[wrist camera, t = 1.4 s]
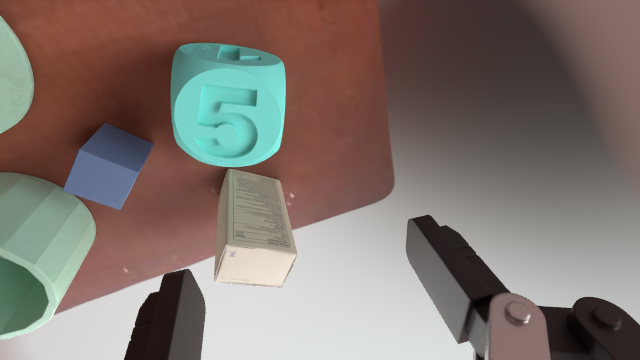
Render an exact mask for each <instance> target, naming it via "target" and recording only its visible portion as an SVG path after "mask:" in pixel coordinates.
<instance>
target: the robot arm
mask: <svg viewBox="0 0 640 360" xmlns="http://www.w3.org/2000/svg"><path fill="white" fill-rule="evenodd" d="M406 253H407V257H408V260H409V262H410V264H411V266H412V267H413V269H414V271H415V272H416V274H417V276H418V277H419V279H420V281H421V283H422V284H423V286H424V288H425V289H426V291H427V293H428V294H429V296H430V298H431V299H432V301H433V302H434V304H435V306H436V308H437V309H438V311H439V313H440V314H441V316H442V318H443V319H444V321H445V323H446V324H447V326H448V328H449V330H450V331H451V333H452V334H453V336H454V338H455V340H456V341H457V343H458V344H459V343H463V342H467V341H470V343H471V345H472V346H473V348H474V354H473V360H640V325H639V324H638V323H637V322H636V321H635V320H634V319H633V318H632V317H631V316H630V315H628V314H627V313H626V312H625V311H624V310H623V309H621V308H620V307H618V306H616V305H615V304H613V303H611V302H608V301H606V300H603V299H599V298H594V297H583V298H580V299H579V300H577V301H576V302H575V304H574V305H573V307H572V308H561V307H544V306H537V305H535V304H534V303H533V302H531V301H530V300H529V299H527V298H525V297H523V296H521V295H517V294H514V293H511V292H510V291H509V290H508V289H507V288H506V287H505V286H504V285H503V284H502V282H501V281H500V280H499V279H498V278H497V277H496V276H495V274H494V273H493V272H492V271H491V270H490V269H489V267H488V266H487V265H486V264H485V263H484V261H483V260H482V259H481V258H480V257H479V256H477V255H476V252H475V251H474V250H473V249H472V248H471V246H470V247H469V244H468V243H467V242H466V241H465V239H464V238H463V237H462V236H461V235H460V234H459V233H458V232H456V231H455V230H453V229H451V228H449V227H448V226H446V225H445V226H441V227H440V226H439V225H438V224H437V222H436V221H435V220H434V219H433V218H432V216H430V215H425V216H421V217H416V218H412V219H409V221H408V226H407V240H406ZM204 321H205V301H204V297H203V294H202V293H201V290H200V288H199V287H198V284H197V283H196V280H195V278H194V276H193V275H192V272H191V271H190V270H189V269H184V270H180V271H176V272H171V273H167V274H165V275H164V276H163V279H162V282H161V287H160V290H159V292H154V293H150V295H149V296H148V298H147V299H146V300H145V302H144V303H143V304H142V306H141V307H140V309H139V312H138V316H137V319H136V322H135V327H134V329H133V332H132V335H131V341H129V345H128V348H127V351H126V355H125V358H124V360H201V350H202V341H203V331H204Z"/></svg>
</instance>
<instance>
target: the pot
mask: <svg viewBox="0 0 640 360" xmlns="http://www.w3.org/2000/svg"><path fill="white" fill-rule="evenodd" d="M95 235H96V226H95V222H94V219H93V217H92V214H91V213H90V211H89V210H88V208H87V207H86V206H85V205H84V204H83V202H81V201H80V200H79V199H78V198H77V197H76V196H74V195H73V194H70V193H67V192H64V191H63V188H62V187H60V186H58V185H56V184H54V183H52V182H50V181H47V180H44V179H41V178H38V177H35V176H31V175H26V174H20V173H12V172H0V340H4V339H8V338H11V337H15V336H19V335H23V334H26V333H30V332H32V331H33V330H35V329H37V328H38V327H39V326H41V325H42V324H44V323H46V322H47V321H49V320H50V319H51V318H52V316H53V314H54V312H55V310H56V309H57V307H58V305H59V303H60V302H61V300H62V298H63V296H64V294H65V293H66V291H67V289H68V287H69V286H70V284H71V282H72V280H73V278H74V277H75V275H76V273H77V271H78V269H79V268H80V266H81V264H82V262H83V261H84V259H85V257H86V255H87V253H88V252H89V249H90V247H91V245H92V244H93V242H94V239H95Z"/></svg>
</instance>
